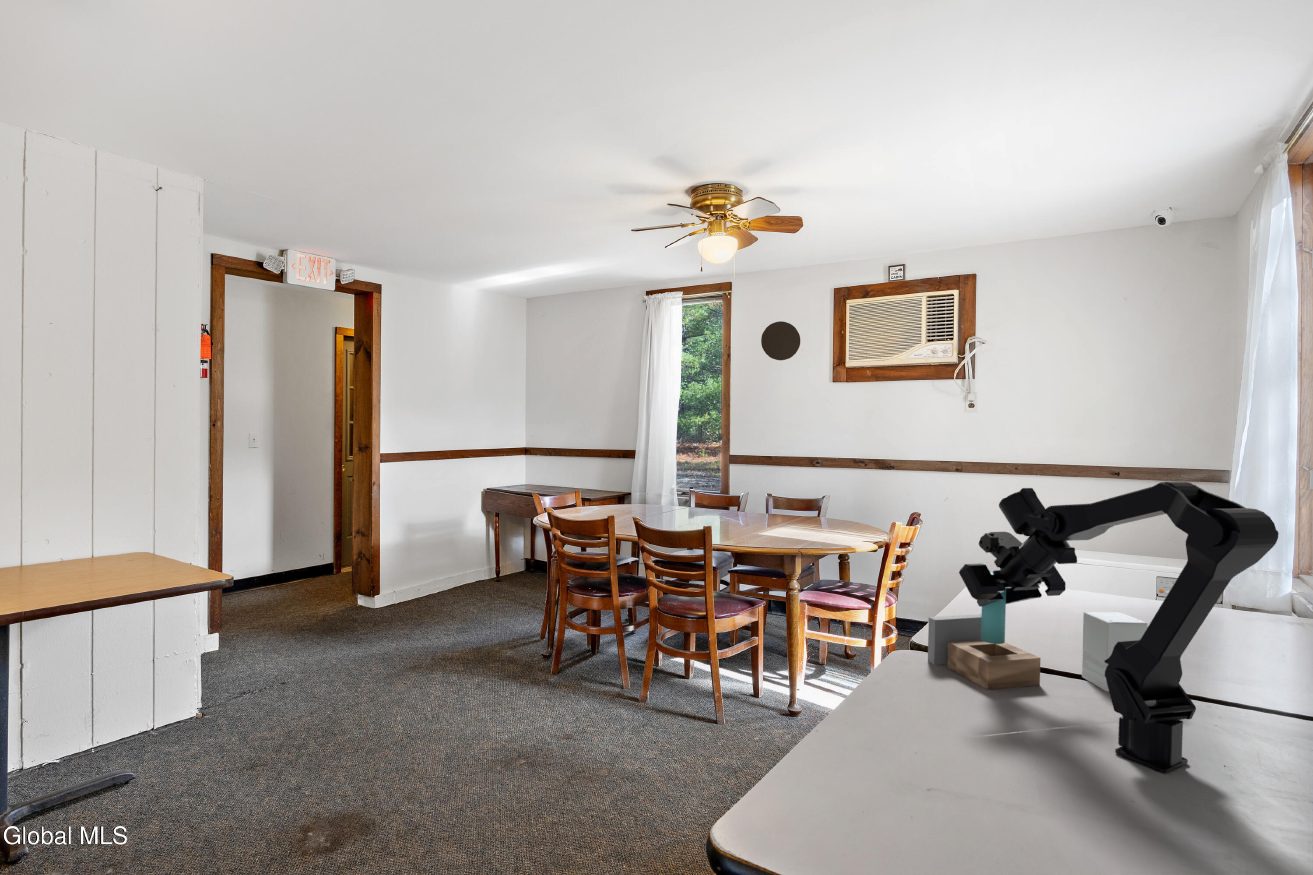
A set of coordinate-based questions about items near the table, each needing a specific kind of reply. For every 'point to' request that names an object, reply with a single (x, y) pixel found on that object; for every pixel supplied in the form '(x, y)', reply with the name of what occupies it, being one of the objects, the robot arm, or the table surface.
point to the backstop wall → (950, 634)
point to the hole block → (994, 664)
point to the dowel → (994, 621)
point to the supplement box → (1105, 641)
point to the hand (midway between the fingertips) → (988, 603)
